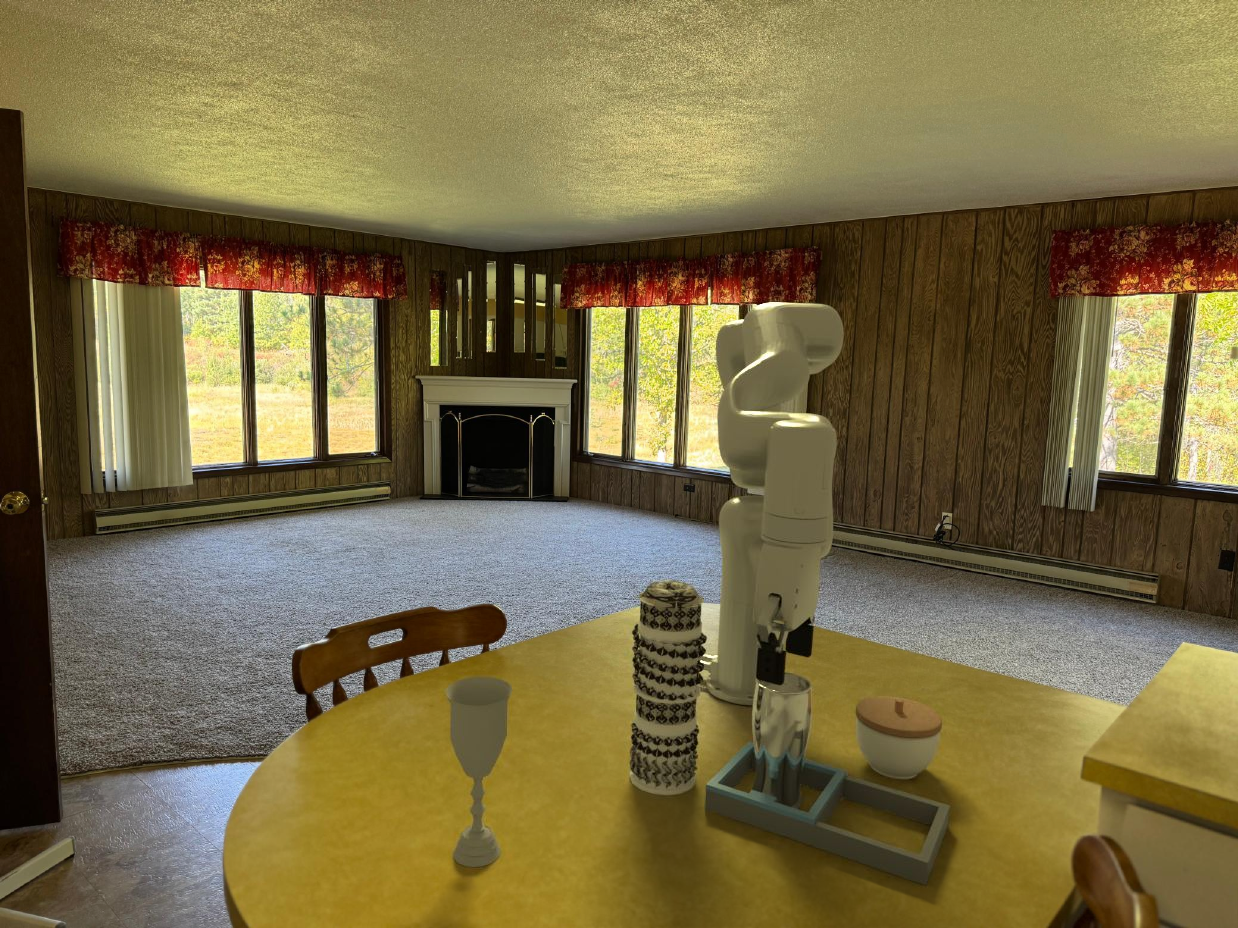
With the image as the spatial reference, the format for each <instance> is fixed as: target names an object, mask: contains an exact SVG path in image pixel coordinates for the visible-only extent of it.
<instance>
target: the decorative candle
mask: <svg viewBox="0 0 1238 928" xmlns="http://www.w3.org/2000/svg"><path fill="white" fill-rule="evenodd" d="M637 598H638V600H640V608H639V614H640V616H639V618H638V620H637V621H638V623H637V624H635V625H634V628H633V630H632V631H631V635H632V636H633V637H632V638H633V641H634V642H633V644H634V645H633V646H632V648H631V651H632V652H633V657H632V658H631V661H632V663H633V664H632V667H633V668H634V672H633V673H632V679H633V685H632V689H633V691H634V693H635V694H636V698H635V699H636V700H635V703H636V704H635V709H634V714H633V715H634V716H633V721H632V722H631V732H632V734H631V735H630V739H631V744H632V745H631V747H629V754H630V759H629V768H630V772H629V779H630V781H631V783H632V785H633V786H635V787H636V788H637V789H639V790H640V791H644V792H646V793H649V794H652V795H660V796H673V795H675V796H676V795H680V794H682V793H686V792H689V791H690V790H691V789H692V788H693V787H694V786H696V779H697V774H696V771H698V767H697V760H698V758H699V755H698V750H697V748H698V747H697V746H698V745H699V741H698V734H699V733H700V729H699V725H698V724H697V719H698V712H697V698H698V697H700V696H701V689H702V688H701V686H700V685H701V684H702V682H703V681H704V676H702V674H701V673H700V672H702V671H704V670H703V668H704V664H703V663H702V662H701V661H700V660H698V659H699V657H701V656H703V655H704V654H707V650H706V648H705V647H704V646H703V645H704V644H706V643H707V639H708V637H707V635H706V634H704V633H703V632H702V629H703V622H702V619H701V618H702V604H704V601H705V599H704V597H703V596H701V595H700V594H698V591H697V590H696V588H695V587H694V586H692V585H691V584H689V583H687V582H682V581H678V580H658V581H654V582H652V583H649V585H647V587H646V589H645V590H644V591H643V592H640V593H639V594H638V596H637Z"/></svg>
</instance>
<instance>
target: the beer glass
mask: <svg viewBox="0 0 1238 928" xmlns="http://www.w3.org/2000/svg"><path fill="white" fill-rule="evenodd" d="M812 687H813V685H812V682H811V681H810V680H809V679H807V678H806V677H804V676H802V675H800V674H796V673H792V672H785V677H784V683H783V684H782V685H776V684H772V683H768V682H764V681H761V680H758V679H757V678H756V686H755V692H754V700H753V705H752V712H751V714H752V715H751V725H752V727H751V728H752V731H751V732H752V739H753V743H754V749H755V758H756V771H755V776H754V779H753V784H752V788H751V791H752V790H754V791H758V792H761V793H764V794H767V795H770V796H773V797H776V798H777V803H780V804H783V805H786V806H789V807H792V808H795V809H798V810H800V808H801V806H802V803H803V800H802V799H803V797H802V790H801V785H800V773H801V767H802V763H803V759H804V758H805V754H806V752H807V748H808V747H807V746H808V745H809V744H808V743H809V738H810V733H811V730H812V729H811V728H812V717H813V698H812V697H813V696H812V692H813V690H812Z"/></svg>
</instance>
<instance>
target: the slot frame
mask: <svg viewBox="0 0 1238 928" xmlns="http://www.w3.org/2000/svg"><path fill="white" fill-rule="evenodd" d="M751 770H752V771H755V772H756V758H755V749H754V742H749V741H747V742H746V743H745V744H744V746H743V747H742V748H741V749H740V750H738V751H737V753H735V754H734V755H733V756H732V758H730V760H729V761H728V762H727V763H726V764H725V765H724V766H723V767H722V768H721V769H720V770H718V771H717V773H716V774H715V775H713V777H712V778H711V779H710V780H709V781H708V782H707V783H706V784H705V799H704V800H705V801H704V810H706V811H709V812H712V813H716V814H718V815H722V816H724V817H726V818H729V819H733V820H736V821H738V822H740V823H741V822H742V823H744V824H748V825H749V826H750V825H751V826H753V827H755V828H756V827H757V828H759V829H761V830H764V831H767V832H771V833H773V834H777V835H779V836H782V837H784V838H788V839H790V840H794V841H797V842H799V843H803V844H806V845H807V846H811V847H813V848H816V849H820V850H822V851H825V852H828V853H832V854H834V855H837V856H840V857H843V858H845V859H848V860H851V861H855V862H856V863H860V864H863V865H865V866H869V867H871V868H873V869H877V870H880V871H884V872H886V873H888V874H892V875H895V876H897V877H900V878H902V879H903V878H904V879H906V880H909V881H912V882H914V883H918V884H920V885H924V886H926V885H927V883H928V881H929V878H930V876H931V874H932V870H933V867H934V864H935V862H936V859H937V856H938V854H939V851H940V848H941V846H942V843H943V841H944V837H945V835H946V832H947V830H948V826H949V821H950V820H949V819H950V807H951V806H950V805H949V804H946V803H942V802H939V801H937V800H931V799H929V798H925V797H922V796H918V795H914V794H911V793H908V792H905V791H902V790H898V789H895V788H891V787H888V786H884V785H881V784H877V783H874V782H871V781H867V780H864V779H860V778H858V777H855V776H850V775H848V770H846V769H842V768H839V767H835V766H834V765H833V766H832V765H829V764H825V763H822V762H818V761H814V760H811V759H809V758H805V757H804V759H803V763H802V767H801V773H800V786H802V787H803V786H804V787H807V788H810V789H813V790H816V791H819V792H821V794H820V795H819V796H818V798H817V799H816V801H815V802H814V803H813V805H812V806H811V807H810V809H809V810H808V812H807V811H804V810H801V809H795V808H792V807H789V806H786V805H783V804H780V803H777V798H776V797H773V796H770V795H767V794H764V793H761V792H758V791H754V790H752V789H751V790H750V792H746V791H742V790H739V789H736V787H737V786H738V785H739V784H740V783H741V781H742V780H743V779H744V778H745V777H746V775H748V773H749V772H750V771H751ZM843 799H846V800H849V801H851V802H856V803H858V804H861V805H865V806H868V807H871V808H875V809H878V810H881V811H885V812H886V813H889V814H894V815H897V816H900V817H904V818H905V819H910V820H913V821H917V822H920V823H922V824H926V825H929V826H930V828H929V831H928V834H927V836H926V839H925V842H924V843H923V846H922V849H921V851H920V853H915V852H913V851H909V850H907V849H904V848H900V847H897V846H894V845H891V844H888V843H885V842H882V841H879V840H876V839H873V838H869V837H867V836H864V835H861V834H858V833H856V832H852V831H848V830H846V829H842V828H840V827H836V826H833V825H830V824H828V821H829V820H830V818H831V817H832V816H833V815H834V812H835V811H836V810H837V808H838V806H839V804H840V803H841V801H842V800H843Z"/></svg>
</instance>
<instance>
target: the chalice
mask: <svg viewBox="0 0 1238 928" xmlns="http://www.w3.org/2000/svg"><path fill="white" fill-rule="evenodd" d="M512 692H513V687H512V685H511V684H510V683H509V682H508V681H505V680H504V679H501V678H498V677H491V676H472V677H467V678H462V679H460V680H456V681H455V682H453V683H451V684H450V685H448V686H447V688H446V690H445V695H446V698H447V700H448V701H449V704H450V716H449V717H450V721H449V722H450V730H449V731H450V732H449V733H450V742H451V745H452V748H453V751H454V753H455V756H456V758H457V760H458V762H459V764H460V766H461V768H462V771H464V773H465V775H466V776H467V777H468V778H471V779H473V786H472V789H471V791H470V793H469V794H470V795H471V797H472V802H473V803H472V806H471V807H469V813H470V814H471V815H472V819H473V820H472V824H471V825H469V826H466V827H465V829H464V830H463V831H462V832H461V833H460V835H459V838H458V840H457V842H456V845H455V847H454V850H453V851H452V858H453V859H454V861H455V862H457V863H458V864H460V865H461V866H464V867H469V868H470V867H471V868H479V867H484V866H488V865H490V864H492V863H494V862H495V861H496V860H497V859H498V858H500V856H501V852H502V849H501V848H502V847H501V846H500V845H499V843H498V839H497V837H496V836H495V835H496V834H495V832H494V831H493V830H492V828H491V827H489V826H488V825H486V824H484V823H483V820H482V819H483V815H484V813H485V812H486V811H487V808H486V806H485V805H484V804H483V798H484V796H485V794H486V790H485V789H484V786H483V779H484V778H486V777H488V776H489V775H490V774H491V772H492V771H493V768H494V767H495V765H496V763H497V761H498V759H499V757H500V755H501V752H502V750H503V747H504V743H505V741H506V738H507V736H508V701H509V698H510V697H511V695H512Z"/></svg>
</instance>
